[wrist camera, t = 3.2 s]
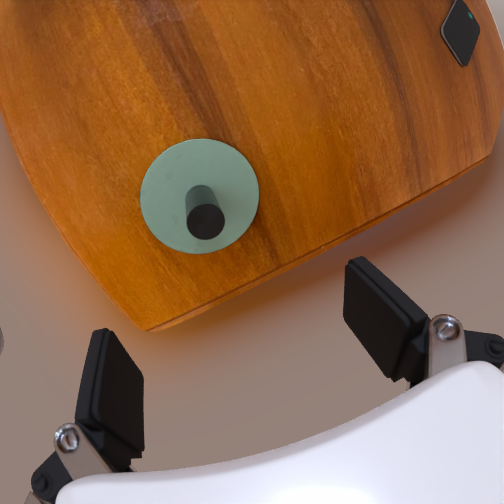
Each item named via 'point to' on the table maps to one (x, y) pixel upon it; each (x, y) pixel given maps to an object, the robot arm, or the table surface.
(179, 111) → the table surface
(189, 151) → the pot lid
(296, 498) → the robot arm
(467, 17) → the smartphone
